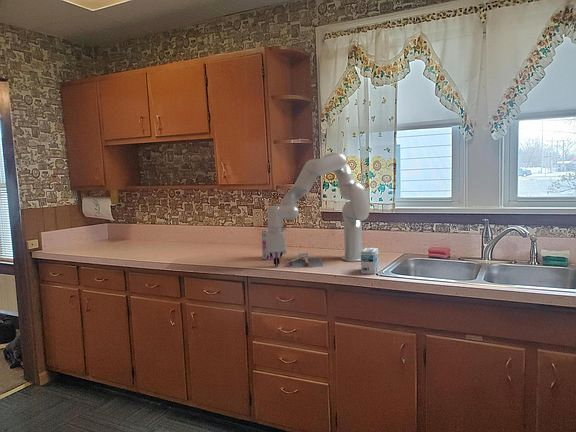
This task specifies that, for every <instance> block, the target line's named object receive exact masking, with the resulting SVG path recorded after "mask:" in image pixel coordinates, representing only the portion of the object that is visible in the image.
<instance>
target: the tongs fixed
mask: <svg viewBox="0 0 576 432" xmlns="http://www.w3.org/2000/svg"><path fill="white" fill-rule="evenodd" d="M302 260H304V261H305V264H306V267H305V268H310V267H309V262H308V260H307V257H306V256H305V257H304V256H303V258H302Z"/></svg>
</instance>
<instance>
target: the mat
mask: <svg viewBox="0 0 576 432" xmlns="http://www.w3.org/2000/svg"><path fill="white" fill-rule="evenodd" d="M296 258H297V257H296ZM296 258H287V259H286V260H287V262H289V261H292V260H294V259H296ZM307 260H308V262H309V267H308V268H319V267H320V268H321V267H325V266H324V264H323V262H322V260H321V258H320V257H308V259H307ZM287 262H286V263H287ZM296 268H297V269H298V268H307V267H306V264H305V261H304V260H302V261H300V262H298V263H296V264H294V265H292V266H289V267H288V269H296Z"/></svg>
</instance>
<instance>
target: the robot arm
mask: <svg viewBox="0 0 576 432" xmlns="http://www.w3.org/2000/svg"><path fill="white" fill-rule="evenodd" d="M331 173H334V175H335V177H336V179H337V180H336V181H337V183H338V184H337V185H338V189H339V193H340V196H341V198H342V199H344V200H346V201H348V202H346V203H345V204H344V205H343V207H342V210H341V212H342V220H343V227H344V228H343V234H344V235H343V236H344V237H343V238H344V256H341V259H342V261H344V262H353V263H355V262H361V251H362V250H363V226H362V221H365V220H366V219H368V218H369V216H370V207H369V206H370V205H369V201H368V197H367V192H366V189H365V187H364V185H362V183H359V182H356V181H355V179H354V175H353V172H352V169H351V167H350V164H348V163H347V158H346V156H345V155H344V154H343V153H341V152H329V153H327V154H324V156H323V157H321V158H314V159H309V160H307V161H306V162H305V164H304V165H303V168H302V169H301V171H300V173H299V175H298V177H297V179H296V180H295V182H294V184H293V185H292V186H291V188H289V190H288V191H287V192H286V194H285V195H284V196H283V198H282V200H281V202H280V204H279V205H268V207H267V209H266V211H267V230H268V233H267V234H266V255H271V256H272V257H273V259H272V260H273V265H274V266H275V267H278V266H279V265H280V258H282V257H283V255H286V254H287V243H286V242H287V241H286V234H285V232H284V231H286V226H283V225H284V224H283V222H284V221H283V220H289V221H291V220H294V219H297V217H298V216H299V209H298V208H297V206H296V204H297V203H298V202H299V200H300V199H301V198H302V197H305V195H307V194H308V193H309V192H310V190H311V189H312V187H313V185H314V183H315V182H316V179H317V178H318V177H320V176H325V175H327V174H331ZM274 252H278V256H277V258H276V256H275V253H274ZM280 252H281V253H280ZM281 256H282V257H281Z"/></svg>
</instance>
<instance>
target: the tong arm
mask: <svg viewBox="0 0 576 432" xmlns="http://www.w3.org/2000/svg"><path fill="white" fill-rule="evenodd" d="M293 259H294V260H292V261H289V262H286V267H289V266H292V265H294V264H296V263H298V262H300V261H302V256H301V257H299V256H298V257H296V259H295V258H293Z"/></svg>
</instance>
